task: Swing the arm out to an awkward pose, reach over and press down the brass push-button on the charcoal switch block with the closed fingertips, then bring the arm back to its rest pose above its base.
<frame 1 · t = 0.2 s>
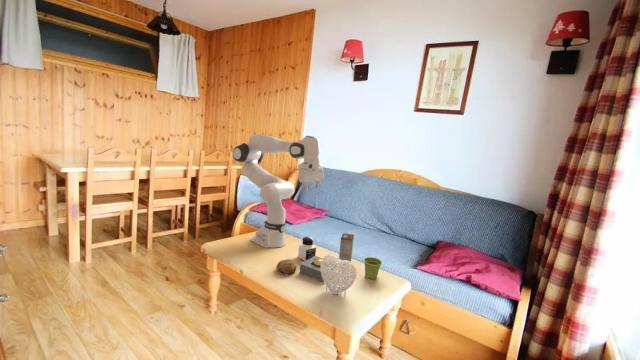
hand: (311, 189, 178), 39 cm above the table, tool pointing down, fingers open, 8 cm apart
medicine bottle: (306, 258, 179), on the table
decorative heart: (335, 293, 143), on the table
switch block: (318, 272, 162), on the table
bread roll: (286, 271, 161), on the table
brass button: (319, 263, 161), point 5 cm above the table, slide at 0.0 cm
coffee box: (344, 263, 177), on the table
plant pot: (370, 276, 163), on the table
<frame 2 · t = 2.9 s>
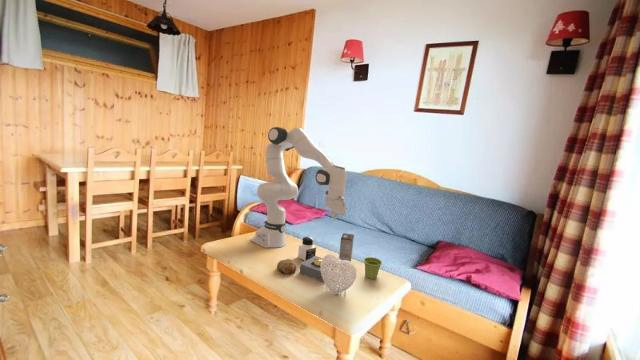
hand: (334, 218, 173), 25 cm above the table, tool pointing down, fingers closed
nothing on the table moved.
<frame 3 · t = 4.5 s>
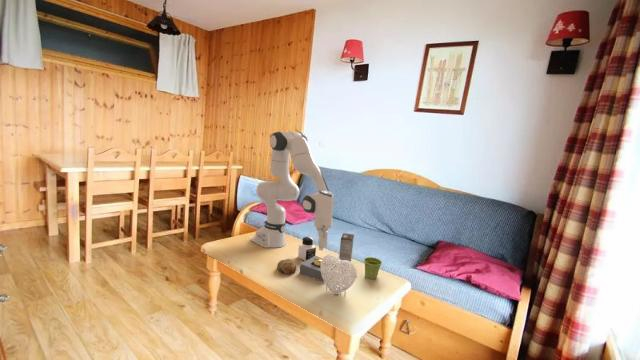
hand: (320, 249, 160), 13 cm above the table, tool pointing down, fingers closed
nothing on the table moved.
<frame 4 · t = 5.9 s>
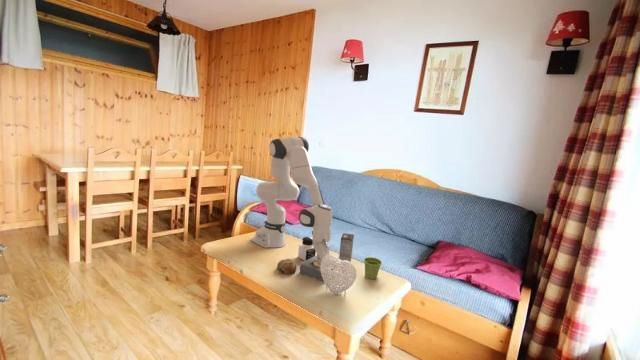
hand: (319, 262, 161), 6 cm above the table, tool pointing down, fingers closed, pressing on brass button
brass button: (319, 265, 162), point 4 cm above the table, slide at 1.1 cm, touching gripper
everything else where it was.
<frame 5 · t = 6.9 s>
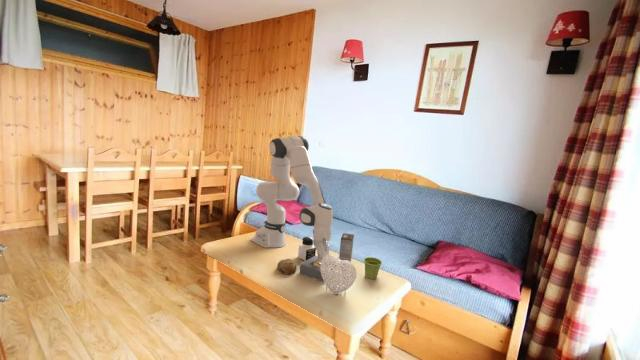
hand: (319, 260, 162), 6 cm above the table, tool pointing down, fingers closed
brass button: (319, 266, 162), point 4 cm above the table, slide at 1.7 cm
everything else where it was.
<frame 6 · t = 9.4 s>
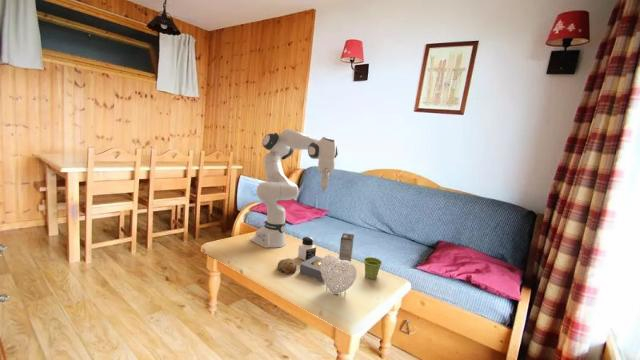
hand: (323, 192, 173), 39 cm above the table, tool pointing down, fingers closed
nothing on the table moved.
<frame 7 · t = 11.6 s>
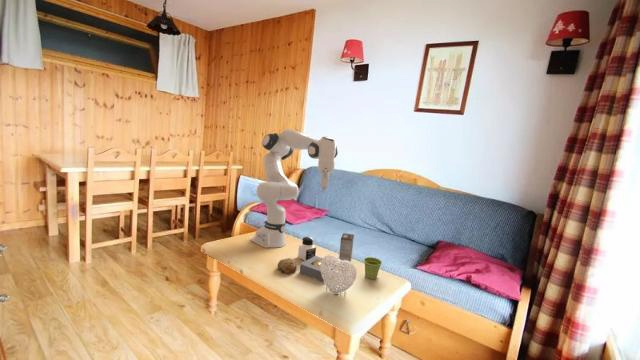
hand: (323, 191, 174), 39 cm above the table, tool pointing down, fingers closed
at the end: brass button slide at 1.7 cm; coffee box moved 0.2 cm from its start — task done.
